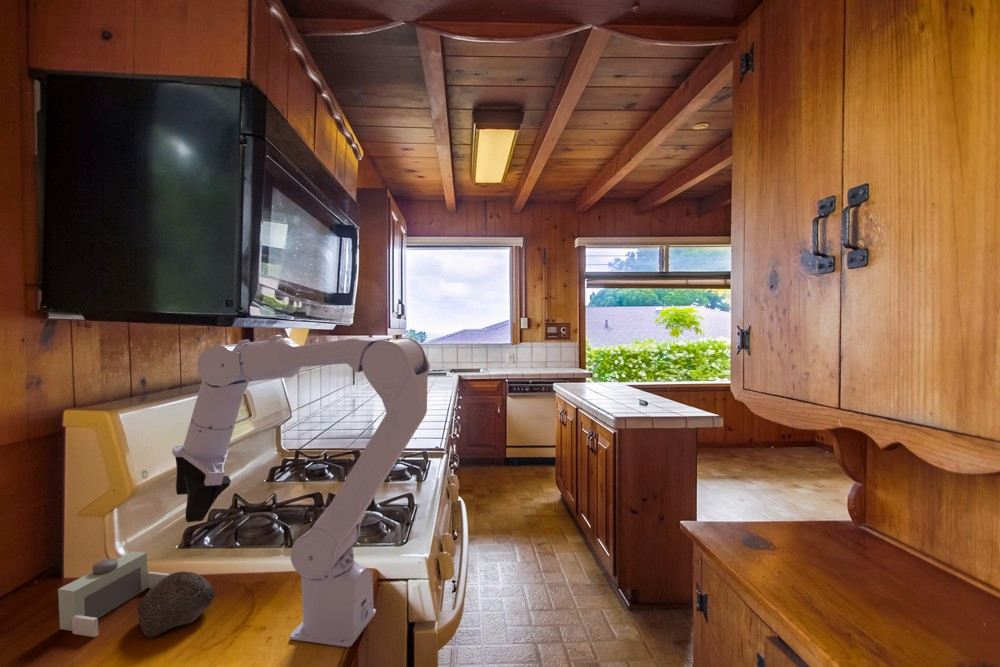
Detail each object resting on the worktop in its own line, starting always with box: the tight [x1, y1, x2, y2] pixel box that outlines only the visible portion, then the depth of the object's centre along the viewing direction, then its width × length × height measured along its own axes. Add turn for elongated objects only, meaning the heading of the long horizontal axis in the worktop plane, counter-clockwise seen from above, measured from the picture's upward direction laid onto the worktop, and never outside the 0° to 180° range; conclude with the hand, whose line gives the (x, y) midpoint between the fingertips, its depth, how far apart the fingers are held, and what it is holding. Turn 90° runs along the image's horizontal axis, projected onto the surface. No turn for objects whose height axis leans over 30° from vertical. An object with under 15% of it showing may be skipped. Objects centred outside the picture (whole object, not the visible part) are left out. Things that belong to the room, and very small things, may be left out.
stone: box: [137, 571, 216, 639], centre depth 71 cm, size 10×8×10 cm
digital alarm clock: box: [57, 551, 171, 638], centre depth 74 cm, size 7×12×7 cm, turn 168°
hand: (189, 506), depth 70 cm, fingers open, 7 cm apart
